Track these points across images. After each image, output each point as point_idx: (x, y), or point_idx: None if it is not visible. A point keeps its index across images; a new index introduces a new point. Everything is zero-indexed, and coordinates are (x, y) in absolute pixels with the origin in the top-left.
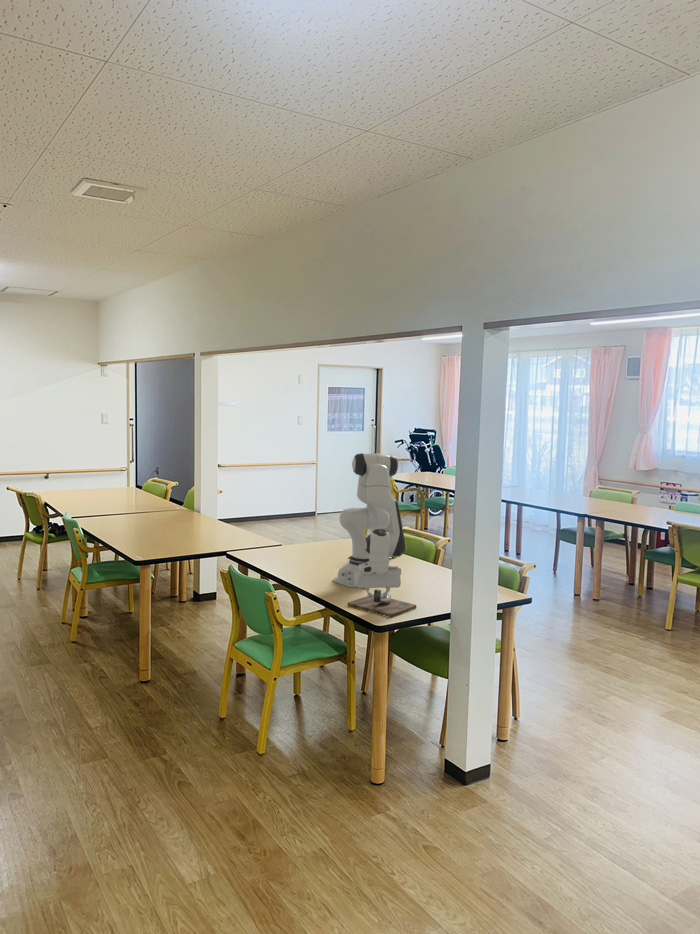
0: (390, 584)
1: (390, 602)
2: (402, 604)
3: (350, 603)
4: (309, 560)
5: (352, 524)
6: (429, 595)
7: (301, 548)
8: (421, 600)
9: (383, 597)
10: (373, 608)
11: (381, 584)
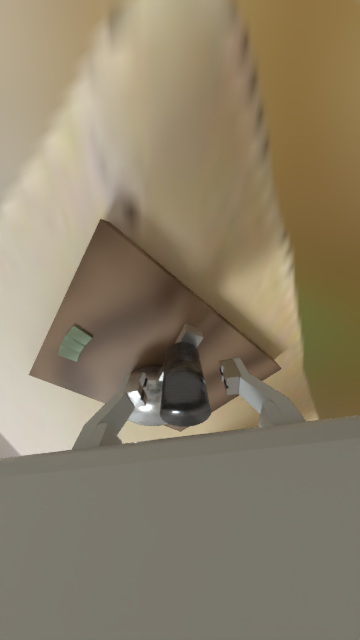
0: (30, 503)
1: None
2: (82, 373)
3: (274, 362)
4: None
5: None
6: (45, 442)
7: None
8: (51, 418)
9: (149, 390)
10: (197, 316)
11: (146, 494)
